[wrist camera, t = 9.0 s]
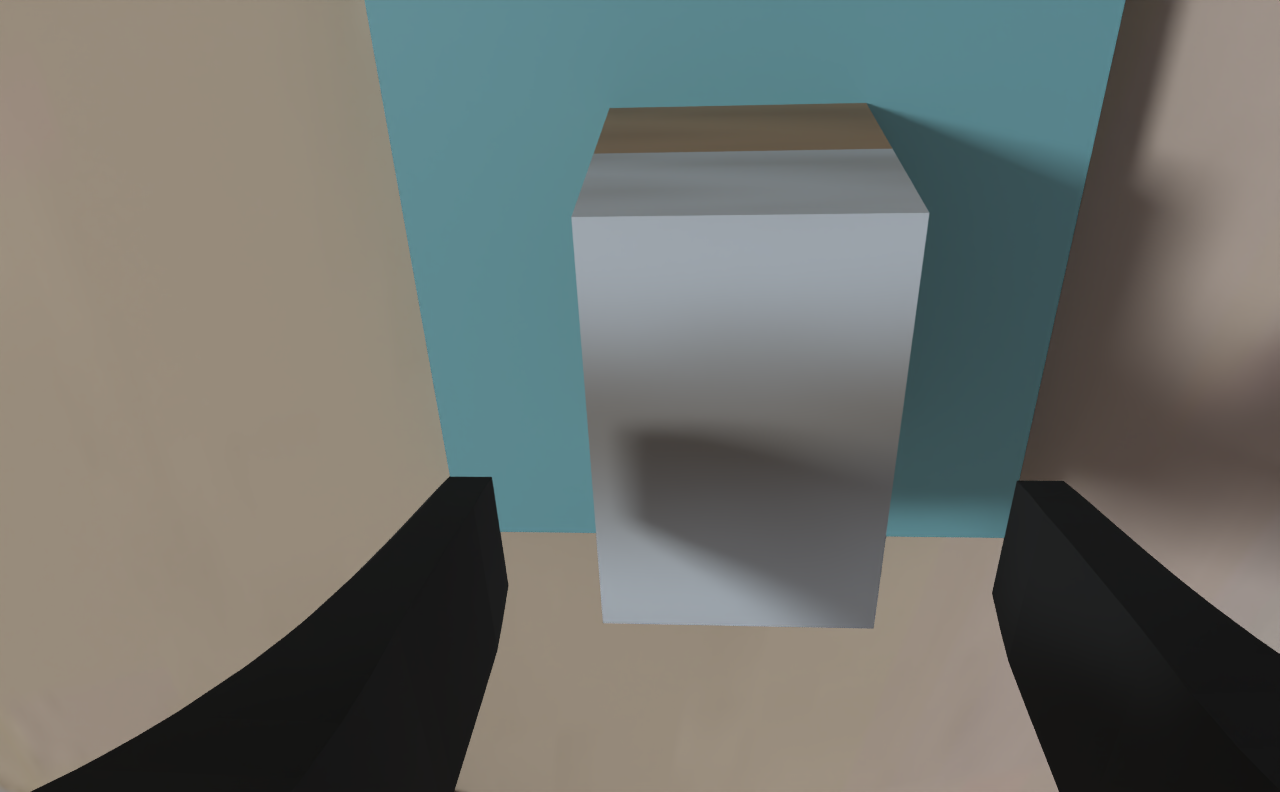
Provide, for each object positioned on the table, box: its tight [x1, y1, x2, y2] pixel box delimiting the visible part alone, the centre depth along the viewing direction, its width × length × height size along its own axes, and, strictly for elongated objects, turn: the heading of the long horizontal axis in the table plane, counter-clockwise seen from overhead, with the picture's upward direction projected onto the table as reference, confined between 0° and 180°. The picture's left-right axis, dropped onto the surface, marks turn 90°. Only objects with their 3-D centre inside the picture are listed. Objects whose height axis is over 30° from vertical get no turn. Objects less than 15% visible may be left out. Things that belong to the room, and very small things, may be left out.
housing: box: [571, 103, 929, 628], centre depth 18 cm, size 8×5×6 cm, turn 2°
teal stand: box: [365, 0, 1125, 538], centre depth 21 cm, size 14×14×2 cm
